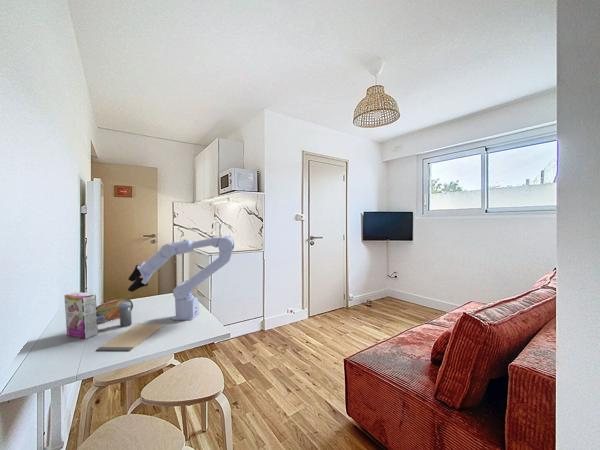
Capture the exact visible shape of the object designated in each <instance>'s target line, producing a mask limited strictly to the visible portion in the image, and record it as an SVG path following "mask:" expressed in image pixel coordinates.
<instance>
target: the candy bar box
mask: <svg viewBox="0 0 600 450" xmlns="http://www.w3.org/2000/svg"><path fill="white" fill-rule="evenodd" d="M63 296H64V307H65V308H64V309H65V325H66V327H65V328H66V336H68V337H72V338H78V339H82V340H88V339H90V338H92V337H94V336H97V335H99V330H98V329H99V328H98V327H99V326H98V321H97V294H95V293H91V292H90V293H89V292H82V291H75V292H71V293H67V294H65V295H63Z"/></svg>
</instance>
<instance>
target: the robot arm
mask: <svg viewBox="0 0 600 450" xmlns="http://www.w3.org/2000/svg"><path fill="white" fill-rule="evenodd" d="M205 247H214V248H218V251H219V252H218V257H217V258H215V259H214V260H213V261H212V262H210V263H209V264H208V265H207V266H205V267H204V268H202V270H199V271H198V272H197V273H196V274H194V275H193V276H192V277H190V278H188V279H186V280H182V281H181V282H180V283H179V284H178V285H177V286H175V288H173V290H172V294H173V297H174V302H175V303H174V304H175V306H174V307H175V309H174V310H175V316H173V317H172V318H171V320H172V321H178V320H179V321H181V320H184V321H188V320H189V321H190V320H194V319H195V318H196V317H197V316H198V315H199V314H200V308H199V306H200V305H199V304H200V303H199V302H200V301H199V299H198V297H196V296H193V293H192V291H193V290H194V289H195V288H196V287H197V286H199V285H201V283H203V282H204V281H206V280H207V279H208V278H209V277H211V276H212V275H214V274H215V273H216V272H218V271H219V270H220V269H221V268H223V267H224V266H225V265H227V264H228V262H230V261H231V260H230V259H231V257H232V254H233V251H234V249H235V241H234V238H233V237H231V236H228V235H226V236H224V237H223V236H214V237H213V236H212V237H210V238H204V239H200V240H196V241H193V240H190V239H188V238H185V239H183V240H181V241H172V242H171V243H165V244H163V245H162V246H161V247H160V249H159V250H158V251H157V252H155V253H154V254H153V255H152V256H151V257H149V259H148V260H147V261H144V260H143V262H141V263H140V265H139V264H136V265H135V268H134V269H133V271H132V272H131V274H130V276H128V279H127V280H128V281H130V282H132V283H131V284H130V285H129V287H128V288H127V291H128V292H131V293H133V292H136V291H137V290H138V289H141V288H144V287H147V286H148V285H149V282H150V279H151V277H152V276H153V274H154V273H155V272H156V271H158V269H160V268H161V267H162V266H163V265H164V264H166V262H167V261H168V260H169V259H171V257H172V256H175V255H183V254H189V253H193V251H194V250H195V249H200V248H205Z"/></svg>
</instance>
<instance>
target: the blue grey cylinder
mask: <svg viewBox="0 0 600 450" xmlns="http://www.w3.org/2000/svg"><path fill="white" fill-rule="evenodd" d="M119 308H120V318H119V327H120V328H126V327H127V328H128V327H130V326H131V325H132V324H133V323H132V311H131V302H123V303H120V304H119Z"/></svg>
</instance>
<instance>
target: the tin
mask: <svg viewBox="0 0 600 450" xmlns="http://www.w3.org/2000/svg"><path fill="white" fill-rule="evenodd" d="M123 302H131V312H132V310H133V309H134V303H133V301H132V300H131V299H129V298H125V297H124V298H123V297H122V298H118V299H114V300H111V301H110V300H109V301H107V302H103V303H100V304H98V305H96V307H97V323H100V324H105V322H106V323H108V321H109V322H112V321H115V320H118V319H120V308H119V304H120V303H123ZM111 320H112V321H111Z"/></svg>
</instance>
